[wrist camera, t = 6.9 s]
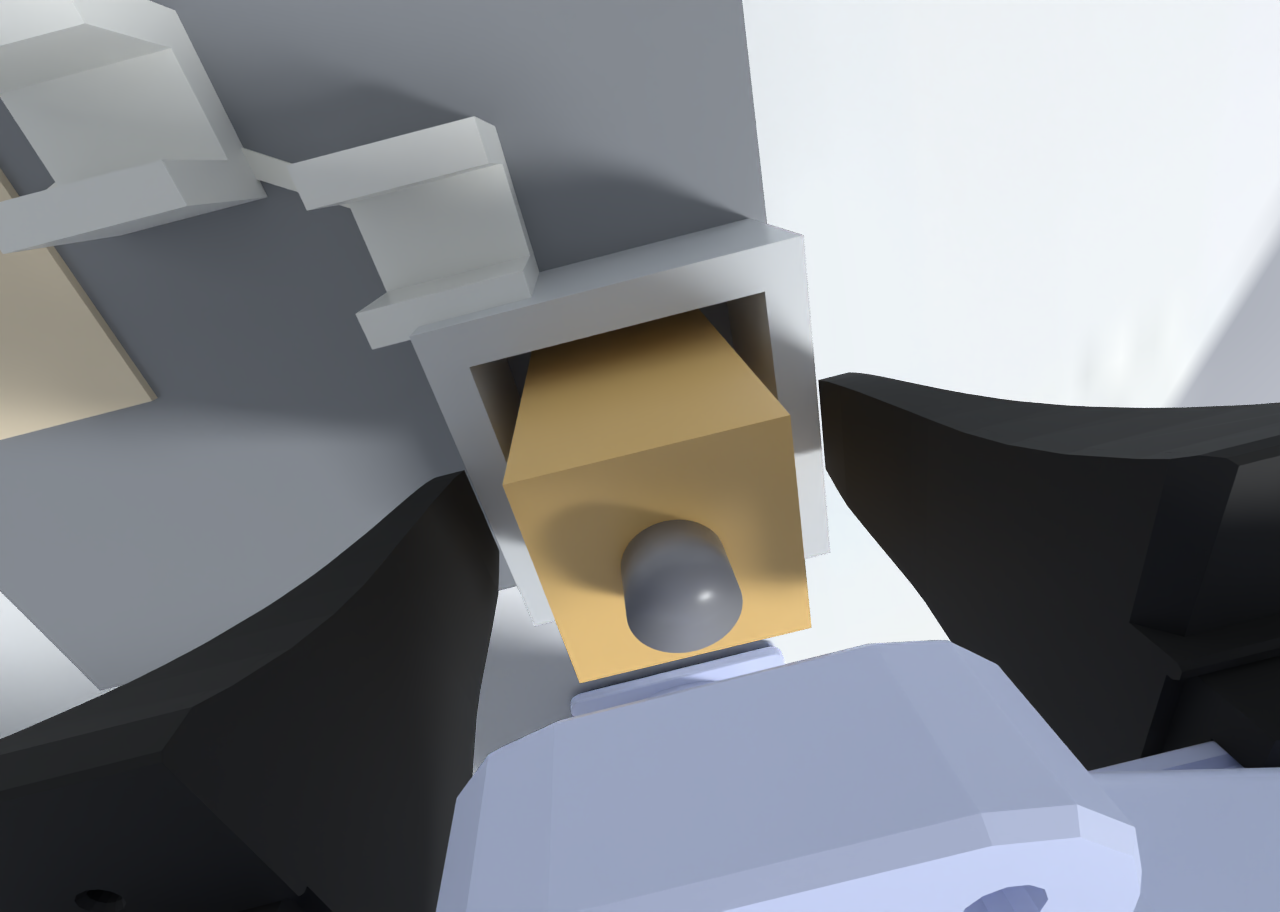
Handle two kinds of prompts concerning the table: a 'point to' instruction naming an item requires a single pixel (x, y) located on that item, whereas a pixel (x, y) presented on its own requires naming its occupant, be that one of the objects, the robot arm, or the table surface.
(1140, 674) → the robot arm
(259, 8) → the cable board
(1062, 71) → the table surface
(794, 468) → the connector plug
